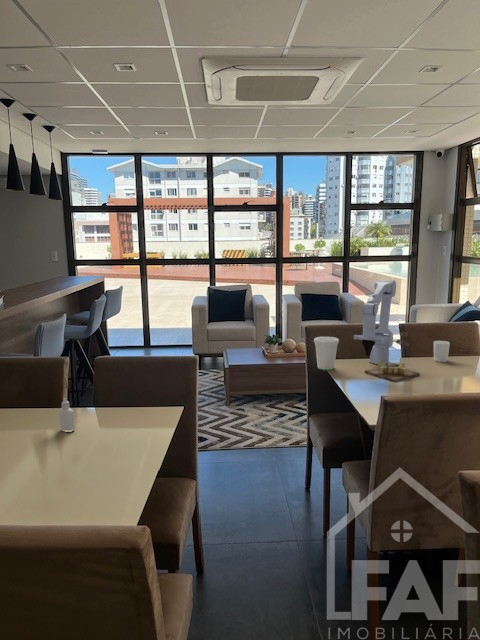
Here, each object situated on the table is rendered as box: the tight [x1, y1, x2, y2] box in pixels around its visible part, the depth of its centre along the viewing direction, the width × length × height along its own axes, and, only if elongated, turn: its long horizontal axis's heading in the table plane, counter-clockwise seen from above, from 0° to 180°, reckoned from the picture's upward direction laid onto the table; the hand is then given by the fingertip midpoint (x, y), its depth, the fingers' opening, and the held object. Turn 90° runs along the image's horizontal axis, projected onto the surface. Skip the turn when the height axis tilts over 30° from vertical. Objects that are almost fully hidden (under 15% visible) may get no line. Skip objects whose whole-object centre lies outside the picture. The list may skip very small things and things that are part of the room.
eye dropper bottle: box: [58, 397, 76, 430], centre depth 160 cm, size 4×6×12 cm
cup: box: [313, 336, 340, 371], centre depth 231 cm, size 12×12×15 cm
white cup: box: [433, 340, 451, 363], centre depth 243 cm, size 8×8×10 cm
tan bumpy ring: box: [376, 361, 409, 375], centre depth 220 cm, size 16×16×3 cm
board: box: [364, 364, 421, 383], centre depth 220 cm, size 18×18×5 cm
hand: (368, 355), depth 220 cm, fingers closed
